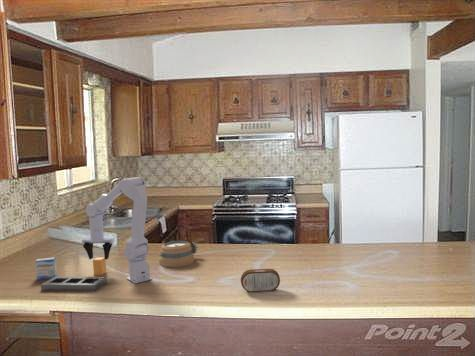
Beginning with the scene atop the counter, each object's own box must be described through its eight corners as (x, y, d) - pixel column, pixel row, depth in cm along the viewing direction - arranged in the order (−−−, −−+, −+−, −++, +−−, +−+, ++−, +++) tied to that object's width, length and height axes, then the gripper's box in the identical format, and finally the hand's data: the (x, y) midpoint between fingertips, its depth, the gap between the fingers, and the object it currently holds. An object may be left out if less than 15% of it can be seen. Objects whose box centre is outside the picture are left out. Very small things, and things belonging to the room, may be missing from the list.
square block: (106, 272, 190) (105, 257, 189) (102, 274, 186) (100, 259, 185) (98, 272, 190) (97, 257, 190) (93, 274, 186) (92, 259, 186)
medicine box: (36, 280, 182) (35, 261, 182) (38, 277, 187) (37, 258, 186) (55, 277, 185) (54, 259, 184) (57, 274, 189) (55, 256, 188)
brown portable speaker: (279, 288, 159) (279, 267, 158) (280, 291, 156) (280, 269, 155) (241, 290, 158) (240, 269, 158) (241, 293, 155) (240, 272, 155)
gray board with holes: (107, 282, 175) (106, 276, 174) (95, 291, 165) (95, 285, 165) (55, 282, 179) (55, 276, 178) (41, 290, 169) (40, 284, 168)
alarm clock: (151, 247, 195) (174, 236, 217) (152, 266, 196) (175, 253, 217) (183, 249, 189) (203, 237, 211) (184, 268, 190) (204, 254, 212)
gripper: (115, 227, 189) (117, 256, 190) (86, 227, 191) (88, 256, 193) (108, 230, 182) (110, 260, 183) (78, 231, 184) (80, 260, 186)
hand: (98, 258), depth 187 cm, fingers open, 7 cm apart
